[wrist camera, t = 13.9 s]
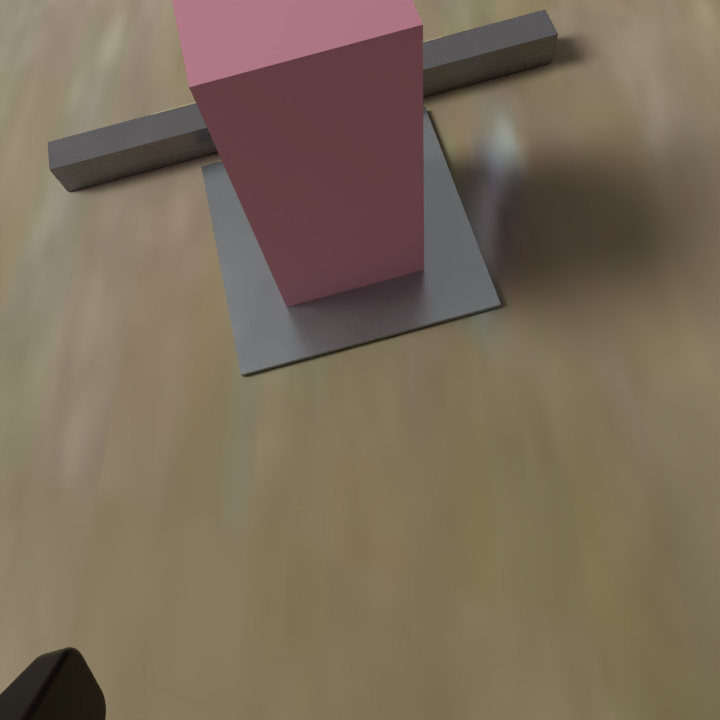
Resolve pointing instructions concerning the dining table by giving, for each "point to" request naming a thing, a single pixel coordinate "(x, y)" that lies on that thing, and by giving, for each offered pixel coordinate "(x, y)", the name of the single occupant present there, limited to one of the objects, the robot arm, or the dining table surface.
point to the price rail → (241, 249)
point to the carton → (316, 131)
